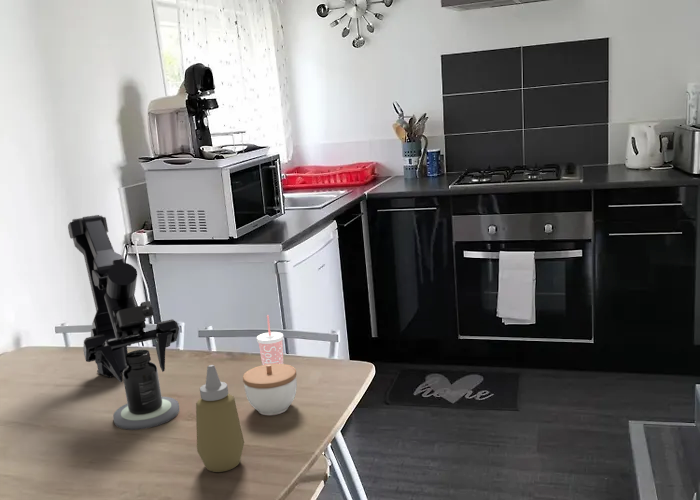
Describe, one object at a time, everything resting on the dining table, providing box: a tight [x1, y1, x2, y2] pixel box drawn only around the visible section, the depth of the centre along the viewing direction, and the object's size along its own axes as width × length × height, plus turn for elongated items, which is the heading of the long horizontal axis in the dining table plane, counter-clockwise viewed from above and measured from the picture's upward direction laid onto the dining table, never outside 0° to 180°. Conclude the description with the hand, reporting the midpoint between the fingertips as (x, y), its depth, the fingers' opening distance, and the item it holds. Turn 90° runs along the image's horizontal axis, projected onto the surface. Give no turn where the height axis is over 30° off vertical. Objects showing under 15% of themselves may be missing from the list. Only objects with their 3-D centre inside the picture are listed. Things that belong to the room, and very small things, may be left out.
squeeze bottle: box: [195, 364, 245, 473], centre depth 116 cm, size 8×8×18 cm
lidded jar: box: [242, 363, 297, 416], centre depth 138 cm, size 11×11×9 cm
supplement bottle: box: [122, 349, 163, 415], centre depth 139 cm, size 7×7×12 cm
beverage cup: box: [256, 314, 284, 365], centre depth 157 cm, size 6×6×14 cm
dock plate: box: [112, 396, 180, 431], centre depth 141 cm, size 13×13×1 cm
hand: (142, 375), depth 138 cm, fingers open, 8 cm apart
